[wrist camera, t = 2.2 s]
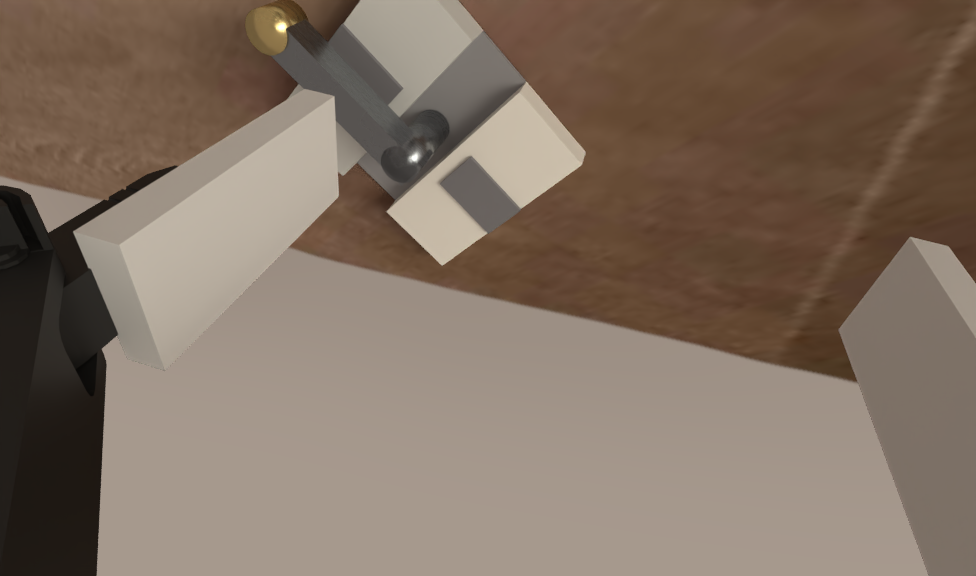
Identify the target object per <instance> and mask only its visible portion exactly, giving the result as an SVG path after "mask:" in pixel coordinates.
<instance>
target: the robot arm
mask: <svg viewBox="0 0 976 576" xmlns="http://www.w3.org/2000/svg"><path fill="white" fill-rule="evenodd" d="M338 197H339V189H338V166H337V143H336V120H335V97H334V96H332V95H328V94H324V93H320V92H316V91H312V90H308V89H304V90H302V91H300V92H299V93H297V94H296V95H294V96H292V97H291V98H289V99H287V100H286V101H284V102H283V103H281V104H279V105H278V106H276V107H274V108H273V109H271V110H270V111H268V112H266V113H265V114H263V115H261V116H260V117H258V118H257V119H255V120H253V121H252V122H250V123H248V124H247V125H245V126H244V127H242V128H240V129H239V130H237V131H235V132H234V133H232V134H231V135H229V136H227V137H226V138H224V139H222V140H221V141H219V142H218V143H216V144H214V145H213V146H211V147H209V148H208V149H206V150H205V151H203V152H201V153H200V154H198V155H196V156H195V157H193V158H192V159H190V160H188V161H187V162H185V163H183V164H182V165H180V166H172V167H169V168H166V169H162V170H159V171H156V172H153V173H149V174H147V175H145V176H144V177H142V178H140V179H138V180H137V181H135V182H133V183H132V184H130V185H128V186H127V187H126V190H123V189H122V190H120V191H118V192H117V193H115V194H113V195H112V196H110V197H109V200H108V201H107V200H103V201H101V202H100V203H98V204H96V205H95V206H93V207H91V208H90V209H88V210H86V211H85V212H83V213H81V214H80V215H78V216H76V217H74V218H73V219H71V220H70V221H68V222H66V223H64V224H63V225H61V226H59V227H58V228H56V229H54V230H53V231H51V232H49V233H48V232H47V230H46V228H45V226H44V223H43V221H42V219H41V217H40V215H39V213H38V210H37V208H36V206H35V204H34V202H33V200H32V198H31V195H29V194H28V193H26V192H25V191H23V190H21V189H18V188H13V187H8V186H0V576H96V575H97V553H98V532H99V511H100V488H101V469H102V448H103V426H104V406H105V405H104V404H105V384H106V360H105V357H104V354H103V352H102V348H103V347H104V346H105V345H106V344H108V343H109V342H110V341H111V340H112V339H113V338H114V337H116V336H118V339H119V341H120V344H121V346H122V348H123V351H124V353H125V355H126V358H127V359H129V360H132V361H135V362H138V363H141V364H145V365H148V366H151V367H154V368H157V369H160V370H163V371H166V370H167V369H168V368H169V367H170V366H171V365H172V364H173V362H175V361H176V360H177V359H178V358H179V357H180V355H182V354H183V353H184V352H185V351H186V350H187V349H188V348H189V347H190V346H191V345H192V344H193V343H194V341H196V340H197V339H198V338H199V337H200V335H201V334H202V333H204V332H205V330H207V328H209V327H210V326H211V325H212V323H213V322H214V321H215V320H216V319H217V318H218V317H219V316H220V315H221V314H222V313H223V312H224V311H225V310H226V309H227V308H228V307H229V306H230V305H231V304H232V303H233V302H234V301H235V300H236V299H237V298H238V297H239V296H240V295H241V294H242V293H243V292H244V291H245V290H246V289H247V288H248V287H249V286H250V285H251V284H252V283H253V282H254V281H255V280H256V279H257V278H258V277H259V276H260V275H261V274H262V273H263V272H264V271H265V270H266V269H267V268H268V267H269V266H270V265H271V264H272V263H273V262H274V261H275V260H276V259H277V258H278V257H279V256H280V255H281V254H282V253H283V252H284V251H285V250H286V249H287V248H288V247H289V246H290V245H291V244H292V243H293V242H294V241H295V240H296V239H297V238H298V237H299V236H300V235H301V234H302V233H303V232H304V231H305V230H306V229H307V228H308V227H309V226H310V225H311V224H312V223H313V222H314V221H315V220H316V219H317V218H318V217H319V216H320V215H321V214H322V213H323V212H324V211H325V210H326V209H327V208H328V207H329V206H330V205H331V204H332V203H333V202H334V201H335V200H336V199H337V198H338ZM839 332H840V335H841V338H842V341H843V343H844V346H845V349H846V351H847V354H848V357H849V360H850V362H851V365H852V368H853V371H854V373H855V376H856V379H857V381H858V384H859V387H860V390H861V392H862V395H863V398H864V400H865V403H866V406H867V409H868V411H869V414H870V417H871V420H872V422H873V425H874V428H875V430H876V433H877V436H878V439H879V441H880V444H881V447H882V450H883V452H884V455H885V458H886V461H887V463H888V466H889V469H890V471H891V474H892V476H893V480H894V482H895V485H896V488H897V491H898V493H899V496H900V499H901V501H902V504H903V507H904V510H905V512H906V515H907V518H908V521H909V523H910V526H911V529H912V531H913V534H914V536H915V540H916V542H917V545H918V548H919V550H920V553H921V556H922V559H923V561H924V564H925V567H926V569H927V572H928V575H929V576H976V283H975V282H974V281H973V279H972V278H971V277H970V275H969V274H968V273H967V271H966V270H965V268H964V267H963V266H962V264H961V263H960V262H959V260H958V259H957V258H956V256H955V255H954V254H953V252H952V251H951V249H950V248H949V247H948V246H945V245H941V244H937V243H933V242H929V241H925V240H921V239H916V238H912V237H910V238H909V239H908V240H907V242H906V243H905V244H904V245H903V247H902V248H901V249H900V251H899V252H898V253H897V254H896V256H895V257H894V258H893V260H892V261H891V262H890V264H889V265H888V266H887V267H886V269H885V270H884V271H883V273H882V274H881V275H880V276H879V278H878V279H877V280H876V282H875V283H874V284H873V286H872V287H871V288H870V289H869V291H868V292H867V293H866V295H865V296H864V297H863V299H862V300H861V301H860V302H859V304H858V305H857V306H856V308H855V309H854V310H853V311H852V313H851V314H850V315H849V317H848V318H847V319H846V321H845V322H844V323H843V324H842V326H841V327H840V328H839Z"/></svg>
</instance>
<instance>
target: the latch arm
mask: <svg viewBox="0 0 976 576" xmlns="http://www.w3.org/2000/svg"><path fill="white" fill-rule="evenodd" d="M245 29H246V33H247V36H248V38H249V40H250V41H251V43H252V44H253V46H254V47H255V48H256V49H258V50H259V51H260V52H262V53H264V54H266V55H270V56H271V57H272V58H273V59H274V60H275V61H276V62H277V63H278V64H279V65H280V66H281V67H282V68H283V69H284V70H285V71H286V72H287V73H288V74H289V75H290V76H291V77H292V78H293V79H294V80H295V81H296V82H297V83H298V84H299V85H300V86H301V87H302V88H303V89H308V90H312V91H316V92H320V93H324V94H328V95H332V96H334V97H335V120H336V121H337V122H338V123H339V124H340V125H341V126H342V127H343V128H344V129H345V130H346V131H347V132H348V133H349V134H350V135H351V136H352V137H353V138H354V139H355V140H356V141H357V142H358V143H359V144H360V145H361V146H362V147H363V148H364V149H365V150H366V151H367V152H368V153H369V154H370V155H371V156H372V157H373V158H374V159H375V160H376V161H377V162H378V163H379V164H380V165H381V166H382V168H383V171H384V172H385V174H386V175H387V176H388V177H389V178H391V179H392V180H394V181H396V182H398V183H399V184H400V185H401V186H402V185H403V184H404V183H408V182H411V181H412V180H413V179H414V178H415V177H416V176H417V175H418V173H419V172H420V171H421V170H422V168H423V167H424V166H425V165H426V163H427V162H428V161H429V160H430V158H431V157H432V156H433V155H434V153H435V152H436V151H437V150H438V148H439V147H440V146H441V145H442V143H443V142H444V141H445V140H446V138H447V137H448V135H449V131H450V127H449V123H448V121H447V119H446V118H445V116H444V115H443V114H441V113H440V112H438V111H436V110H425V111H423V112H422V113H421V114H420V115H419V116H418V117H417V118H416V119H415V120H414V121H413V122H412V123H411V124H410V125H409V126H407V125H406V124H405V123H404V122H403V121H402V120H401V119H400V117H399V116H398V115H397V114H396V113H395V112H394V111H393V110H392V109H391V108H390V107H389V106H388V105H387V104H386V103H385V102H384V101H383V100H382V99H381V98H380V97H379V95H378V94H377V93H376V92H375V91H374V90H373V89H372V88H371V87H370V86H369V85H368V84H367V83H366V82H365V81H364V80H363V79H362V78H361V77H360V76H359V75H358V73H357V72H356V71H355V70H354V69H353V68H352V67H351V66H350V65H349V64H348V63H347V62H346V61H345V60H344V59H343V58H342V57H341V56H340V55H339V54H338V53H337V52H336V50H335V49H334V48H333V47H332V46H331V45H330V44H329V43H328V42H327V41H326V40H325V39H324V38H323V37H322V36H321V35H320V34H319V33H318V32H317V31H316V30H315V28H314V27H313V26H312V25H311V24H310V23H309V22H308V18H307V16H306V14H305V12H304V11H303V9H302V8H301V7H300V6H299V5H298V4H297V3H295V2H294V1H292V0H278V1H275V2H272V3H270V4H267V5H264V6H261V7H259V8H256V9H253V10H251V11H250V12H249V13H248V15H247V17H246V20H245Z"/></svg>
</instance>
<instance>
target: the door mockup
mask: <svg viewBox="0 0 976 576" xmlns="http://www.w3.org/2000/svg"><path fill="white" fill-rule="evenodd" d="M328 43H329V44H330V45H331V46H332V47H333V48H334V49H335V50H336V52H337V53H338V54H339V55H340V56H341V57H342V58H343V59H344V60H345V61H346V62H347V63H348V64H349V65H350V66H351V67H352V68H353V69H354V70H355V71H356V72H357V73H358V75H359V76H360V77H361V78H362V79H363V80H364V81H365V82H366V83H367V84H368V85H369V86H370V87H371V88H372V89H373V90H374V91H375V92H376V93H377V94H378V95H379V97H380V98H381V99H382V100H383V101H384V102H385V103H386V104H387V105H388V106H389V107H390V108H391V109H392V110H393V111H394V112H395V113H396V114H397V115H398V116H399V117H400V119H401V120H402V121H403V122H404V123H405V124H406V125H407V126H409V125H410V124H411V123H412V122H413V121H414V120H415V119H416V118H417V117H418V116H419V115H420V114H421V113H422V112H423V111H425V110H436V111H438V112H440V113H441V114H443V115H444V116H445V118H446V119H447V121H448V123H449V127H450V131H449V135H448V137H447V138H446V140H445V141H444V142H443V143H442V145H441V146H440V147H439V148H438V150H437V151H436V152H435V153H434V155H433V156H432V157H431V158H430V160H429V161H428V162H427V163H426V165H425V166H424V167H423V168H422V170H421V171H420V172H419V173H418V175H417V176H416V177H415V178H414V179H413V180H412V181H411V182H408V183H404V184H403V185H402V186H401V185H400V184H399V183H398V182H396V181H394V180H392V179H391V178H389V177H388V176H387V175H386V174H385V172H384V171H383V168H382V166H381V165H380V164H379V163H378V162H377V161H376V160H375V159H374V158H373V157H372V156H371V155H370V154H369V153H368V152H367V151H366V150H365V149H364V148H363V147H362V146H361V145H360V144H359V143H358V142H357V141H356V140H355V139H354V138H353V137H352V136H351V135H350V134H349V133H348V132H347V131H346V130H345V129H344V128H343V127H342V126H341V125H340V124H339V123H338V122H337V121H336V143H337V166H338V172H340V173H341V174H342V175H343V176H344V175H345V174H346V173H347V172H348V171H349V170H350V169H351V168H352V167H353V166H354V165H355V164H356V163H358V164H359V165H360V166H361V167H362V168H363V169H364V170H365V171H366V172H367V173H368V174H369V175H370V176H371V177H372V178H373V179H374V180H375V181H376V182H377V183H378V184H379V185H380V186H381V187H382V188H384V189H385V190H386V191H387V192H388V193H389V194H390V195H391V196H392V197H393V198H394V199H395V201H394V203H393V204H392V205H391V206H390V208H389V209H388V210H387V211H386V212H387V213H388V214H389V215H390V216H391V217H392V218H393V219H394V220H395V221H396V222H398V223H399V224H400V225H401V226H402V227H403V228H404V229H405V230H406V231H407V232H408V233H409V234H410V235H411V236H412V237H413V238H414V239H415V240H416V241H417V242H418V243H419V244H420V245H421V246H422V247H423V248H424V249H425V250H427V251H428V252H429V253H430V254H431V255H432V256H433V257H434V258H435V259H436V260H437V261H438V262H439V263H440V264H441V265H442V266H443V265H444V264H445V263H447V262H448V261H449V260H451V259H452V258H454V257H455V256H456V255H458V254H459V253H461V252H462V251H463V250H465V249H466V248H467V247H469V246H470V245H472V244H473V243H474V242H476V241H477V240H479V239H480V238H481V237H483V236H484V235H485V234H487V233H488V234H489V233H490V232H492V231H493V230H494V229H496V228H497V227H498V226H500V225H501V224H503V223H504V222H505V221H507V220H508V219H510V218H511V217H512V216H514V215H515V214H517V213H518V212H519V211H520V210H521V208H523V207H524V206H526V205H527V204H528V203H530V202H531V201H532V200H534V199H535V198H537V197H538V196H539V195H541V194H542V193H544V192H545V191H546V190H548V189H549V188H550V187H552V186H553V185H555V184H556V183H557V182H559V181H560V180H562V179H563V178H564V177H566V176H567V175H568V174H570V173H571V172H573V171H574V170H575V169H577V168H578V167H580V166H581V165H582V163H583V159H584V156H585V151H584V149H583V148H582V147H581V146H580V145H579V144H578V142H577V141H576V140H575V139H574V138H573V136H572V135H571V134H570V133H569V132H568V130H567V129H566V128H565V127H564V126H563V124H562V123H561V122H560V121H559V120H558V119H557V117H556V116H555V115H554V114H553V113H552V111H551V110H550V109H549V108H548V107H547V105H546V104H545V103H544V102H543V101H542V100H541V98H540V97H539V96H538V95H537V94H536V92H535V91H534V90H533V89H532V88H531V86H530V85H529V84H528V83H527V82H526V80H525V79H524V78H523V77H522V76H521V75H520V73H519V72H518V71H517V70H516V69H515V67H514V66H513V65H512V64H511V63H510V61H509V60H508V59H507V58H506V57H505V55H504V54H503V53H502V52H501V51H500V50H499V48H498V47H497V46H496V45H495V44H494V42H493V41H492V40H491V39H490V38H489V36H488V35H487V34H486V33H485V32H484V31H483V29H482V28H481V27H480V26H479V25H478V23H477V22H476V21H475V20H474V19H473V17H472V16H471V15H470V14H469V13H468V11H467V10H466V9H465V8H464V7H463V6H462V4H461V3H460V2H459V1H458V0H360V2H359V3H358V4H357V6H356V7H355V8H354V10H353V11H352V12H351V14H350V15H349V17H348V18H347V19H346V21H345V22H344V23H343V24H341V25H340V27H339V28H338V29H337V31H336V32H335V34H334V35H333V36H332V38H331V39H330V40H329V42H328ZM302 90H304V89H303V88H302V87H301V86H300V85H299V84H298V86H297V87H296V88H295V90H294V91H293V92H292V94H291V95H290V96H289V98H291V97H292V96H294V95H296V94H297V93H299V92H300V91H302ZM289 98H288V99H289Z"/></svg>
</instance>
